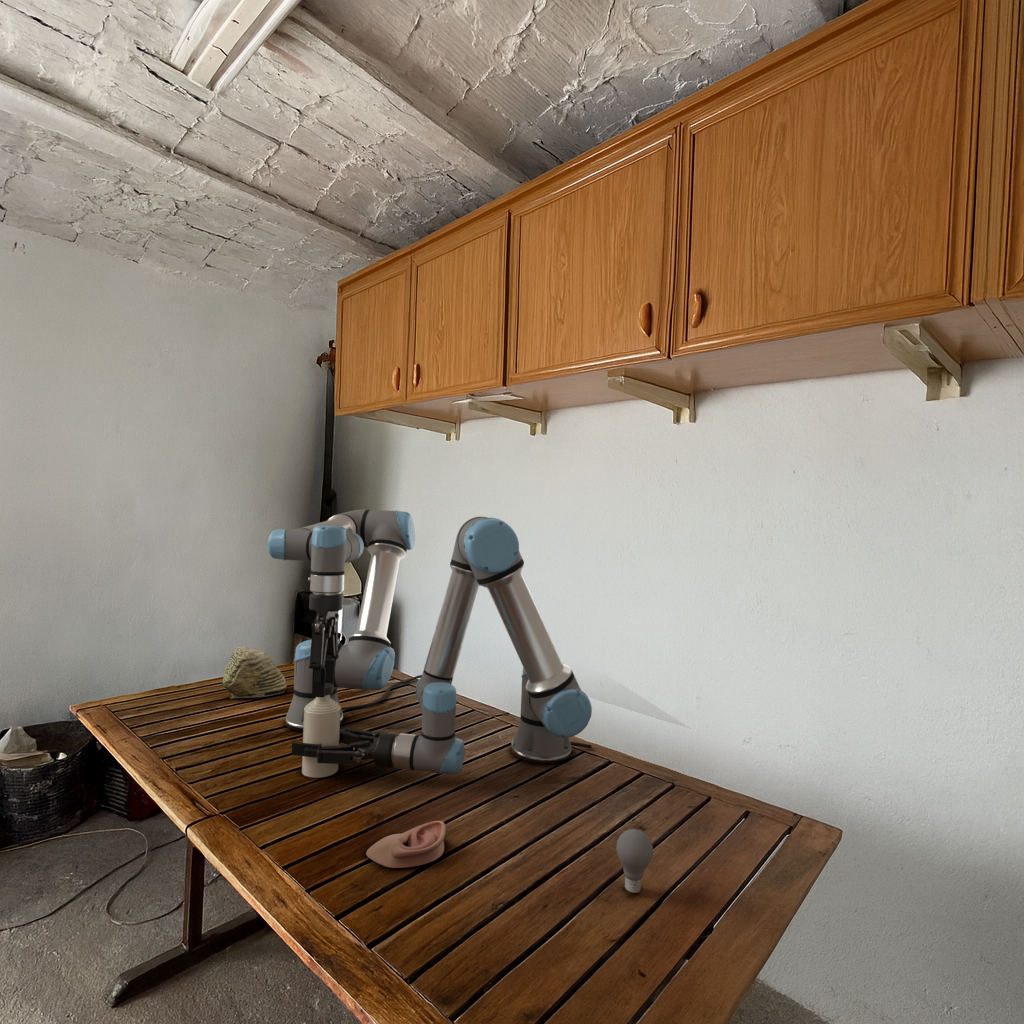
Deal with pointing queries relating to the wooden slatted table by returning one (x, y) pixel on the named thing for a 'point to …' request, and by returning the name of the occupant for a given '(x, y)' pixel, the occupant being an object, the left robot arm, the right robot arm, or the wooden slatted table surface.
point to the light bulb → (634, 857)
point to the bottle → (321, 733)
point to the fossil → (252, 674)
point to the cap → (328, 688)
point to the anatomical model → (410, 846)
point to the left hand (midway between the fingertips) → (323, 691)
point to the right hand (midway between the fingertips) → (301, 741)
